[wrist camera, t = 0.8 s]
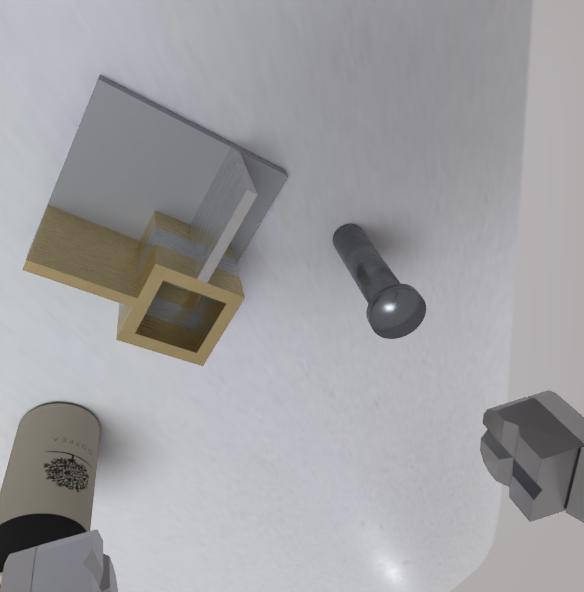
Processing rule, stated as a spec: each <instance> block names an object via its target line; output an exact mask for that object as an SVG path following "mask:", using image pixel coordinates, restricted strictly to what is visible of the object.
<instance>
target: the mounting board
mask: <svg viewBox="0 0 584 592" xmlns="http://www.w3.org/2000/svg"><path fill="white" fill-rule="evenodd" d="M230 147H232V148H234V149H236V150H238V151H240V154H241V156H242V159H243V161H244V163H245V166H246V168H247V171H248V173H249V175H250V178H251V180H252V183H253V185H254V188H255V190H256V192H257V197H256V198H255V200H254V202H253V204H252V205H251V207H250V209H249V211H248V212H247V214H246V216H245V218H244V219H243V221H242V223H241V225H240V226H239V228H238V230H237V232H236V233H235V235H234V237H233V239H232V240H231V242H230V243H231V246H232V250H233V254H234V258H235V262H236V264H237V262H238V260H239V259H240V257H241V255H242V253H243V252H244V250H245V248H246V247H247V245H248V243H249V241H250V240H251V238H252V236H253V235H254V233H255V231H256V230H257V228H258V226H259V224H260V223H261V221H262V219H263V218H264V216H265V214H266V213H267V211H268V209H269V207H270V206H271V204H272V202H273V201H274V199H275V197H276V196H277V194H278V192H279V190H280V189H281V187H282V185H283V184H284V182H285V180H286V178H287V177H288V176H287V174H286V172H285V170H283V169H281V168H279V167H278V166H276V165H274V164H272V163H270V162H268V161H266V160H264V159H262V158H260V157H258V156H256V155H254V154H252V153H250V152H248V151H247V150H245V149H243V148H241V147H239V146H237V145H235V144H233V143H231V142H229V141H227V140H225V139H223V138H221V137H219V136H217V135H216V134H214V133H212V132H210V131H208V130H206V129H204V128H202V127H200V126H198V125H196V124H194V123H192V122H190V121H188V120H187V119H185V118H183V117H181V116H179V115H177V114H175V113H173V112H171V111H169V110H167V109H165V108H163V107H161V106H159V105H157V104H156V103H154V102H152V101H150V100H148V99H146V98H144V97H142V96H140V95H138V94H136V93H134V92H132V91H130V90H128V89H126V88H125V87H123V86H121V85H119V84H117V83H115V82H113V81H111V80H109V79H107V78H105V77H103V76H101V75H100V76H99V79H98V81H97V84H96V86H95V89H94V91H93V94H92V96H91V99H90V101H89V104H88V106H87V108H86V111H85V113H84V116H83V118H82V121H81V123H80V126H79V128H78V131H77V133H76V136H75V138H74V141H73V143H72V146H71V148H70V151H69V153H68V156H67V158H66V161H65V163H64V166H63V168H62V171H61V173H60V176H59V178H58V181H57V183H56V186H55V188H54V191H53V193H52V196H51V198H50V200H49V203H48V205H50V206H53V207H55V208H58V209H61V210H63V211H66V212H68V213H71V214H73V215H76V216H78V217H81V218H83V219H86V220H88V221H91V222H93V223H96V224H99V225H101V226H104V227H106V228H109V229H111V230H114V231H116V232H119V233H121V234H124V235H126V236H129V237H131V238H134V239H137V240H139V241H140V239H141V237H142V235H143V233H144V231H145V229H146V227H147V225H148V223H149V221H150V219H151V217H152V215H153V213H154V211H155V210H156V211H158V212H161V213H163V214H165V215H168V216H170V217H172V218H175V219H177V220H179V221H182V222H184V223H186V224H189V225H190V223H191V221H192V219H193V217H194V216H195V214H196V212H197V210H198V208H199V206H200V204H201V202H202V200H203V198H204V197H205V195H206V193H207V191H208V189H209V187H210V185H211V183H212V181H213V180H214V178H215V176H216V174H217V172H218V170H219V168H220V166H221V164H222V163H223V161H224V159H225V157H226V155H227V153H228V151H229V149H230ZM48 205H47V206H48ZM45 211H46V210H45ZM43 216H44V215H43ZM41 221H42V220H41ZM40 224H41V223H40ZM39 226H40V225H39ZM38 229H39V228H38ZM37 231H38V230H37ZM36 234H37V233H36ZM35 236H36V235H35ZM34 239H35V238H34ZM33 242H34V240H33ZM32 244H33V243H32ZM31 247H32V245H31ZM30 249H31V248H30ZM29 252H30V250H29ZM28 255H29V253H28ZM28 255H27V257H28ZM26 260H27V258H26ZM163 282H165V283H168V284H171V285H174V286H176V287H179V288H182V289H184V290H187V291H191V290H189V289H186V288H183V287H180V286H178V285H175V284H172V283H170V282H167V281H164V280H163Z"/></svg>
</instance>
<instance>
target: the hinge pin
mask: <svg viewBox="0 0 584 592" xmlns="http://www.w3.org/2000/svg"><path fill="white" fill-rule="evenodd" d="M333 244H334V246H335V248H336V250H337V252H338V253H339V255H340V257H341V258H342V260H343V262H344V263H345V265H346V267H347V268H348V270H349V272H350V273H351V275H352V277H353V278H354V280H355V282H356V284H357V285H358V287H359V289H360V290H361V292H362V294H363V295H364V297H365V299H366V300H367V302H368V307H367V319H368V321H369V323H370V325H371V327H372V329H373V330H374V332H375V333H376V334H377V335H379V336H381V337H383V338H388V339H395V338H400V337H403V336H406V335H408V334H409V333H411V332H413V331H414V330H415V329H416V328H417V327H418V326H419V325H420V324H421V322H422V321H423V319H424V316H425V313H426V305H425V301H424V300H423V298H422V297H421V295H420V294H419V293H418V291H417V290H416V289H415V288H413V287H412V286H410V285H406V284H400V282H399V281H398V280H397V278H396V277H395V275H394V274H393V273H392V271H391V270H390V268H389V267H388V266H387V264H386V263H385V261H384V260H383V259H382V257H381V256H380V255H379V253H378V252H377V250H376V249H375V248H374V246H373V245H372V243H371V242H370V241H369V239H368V238H367V236H366V235H365V234H364V232H363V231H362V230H361V228H360V227H359V226H357V225H355V224H346V225H343V226H341V227H340V228H339V229H337V231H336V232H335V234H334V236H333Z"/></svg>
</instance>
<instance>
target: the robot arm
mask: <svg viewBox="0 0 584 592" xmlns="http://www.w3.org/2000/svg"><path fill="white" fill-rule="evenodd" d="M483 424H484V425H485V426H486V428H487V429H488V430H487V431H486V432H485V434H484V435H483V436H482V438H481V447H480V451H481V454H482V458H483V462H484V464H485V466H486V467H487V469H488V471H489V473H490V474H491V475H492V476H493V478H494V479H495V480H496V481H498V482H500V483H502V484H504V485H507V486H509V497H510V499H511V500H512V501H513V502H514V503H515V505H516V506H517V507H518V508H519V509H520V511H521V512H522V513H523V514H524V515H525V516H526V518H527V519H528V520H529V521H530V522H531V521H534V520H537V519H540V518H543V517H546V516H550V515H552V514H556V513H559V512H562V511H565V510H566V513H568V514H569V515H571V516H573V517H575V518H576V519H578V520H580V521H582V522H584V417H583V416H582V415H581V414H579V413H578V412H577V411H576V410H575V409H574V408H572V407H571V406H570V405H569V404H568V403H566V401H564V400H563V399H562V398H561V397H560V396H559V395H557V394H556V393H554V392H552V391H549V390H548V391H545V392H541V393H539V394H535V395H532V396H529V397H524V398H521V399H518V400H515V401H512V402H509V403H505V404H502V405H499V406H496V407H493V408H490V409H487V411H486V412H485V413H484V417H483ZM0 592H118V588H117V581H116V575H115V571H114V568H113V564H112V562H111V559H110V557H109V556H108V555H105V554H103V540H102V538H101V536H100V534H99V532H98V530H92V531H89V532H85V533H82V534H78V535H74V536H71V537H67V538H64V539H60V540H56V541H53V542H49V543H46V544H42V545H39V546H36V547H33V548H29V549H26V550H22V551H19V552H15V553H12V554H9V556H8V558H7V560H6V562H5V564H4V569H3V575H2V581H1V586H0Z"/></svg>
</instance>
